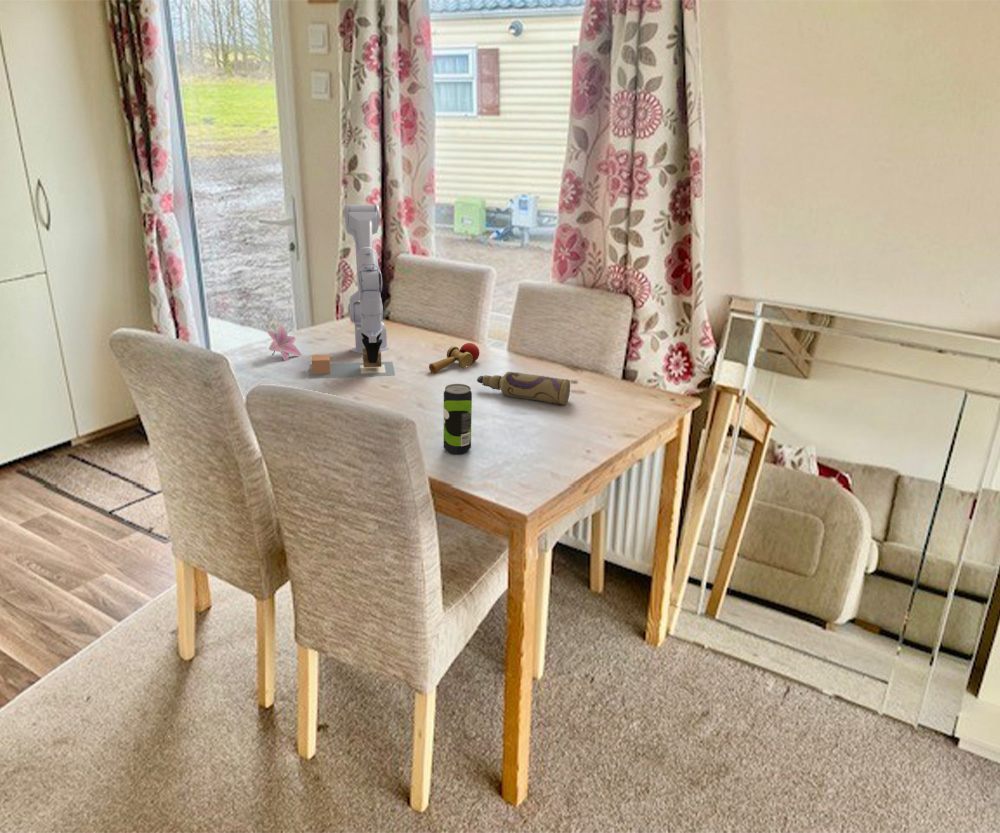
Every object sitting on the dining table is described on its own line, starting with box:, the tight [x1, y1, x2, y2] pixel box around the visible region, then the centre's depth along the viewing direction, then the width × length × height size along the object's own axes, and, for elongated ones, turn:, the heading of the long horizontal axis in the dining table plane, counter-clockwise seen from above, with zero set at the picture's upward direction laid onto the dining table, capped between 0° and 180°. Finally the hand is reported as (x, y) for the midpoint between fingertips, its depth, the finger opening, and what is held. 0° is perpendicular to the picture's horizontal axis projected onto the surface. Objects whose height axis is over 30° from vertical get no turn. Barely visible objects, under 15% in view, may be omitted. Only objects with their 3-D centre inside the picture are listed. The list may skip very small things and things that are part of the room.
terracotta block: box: [310, 354, 331, 374], centre depth 222 cm, size 5×5×4 cm
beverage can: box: [443, 383, 473, 455], centre depth 175 cm, size 6×6×15 cm
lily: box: [265, 321, 302, 362], centre depth 232 cm, size 12×12×10 cm
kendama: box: [428, 342, 480, 374], centre depth 230 cm, size 8×6×18 cm
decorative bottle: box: [476, 371, 571, 406], centre depth 209 cm, size 26×8×7 cm, turn 69°
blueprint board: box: [308, 361, 396, 380], centre depth 224 cm, size 24×12×1 cm, turn 101°
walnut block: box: [362, 348, 382, 367], centre depth 224 cm, size 5×5×4 cm
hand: (372, 359), depth 224 cm, fingers closed on walnut block, 5 cm apart
